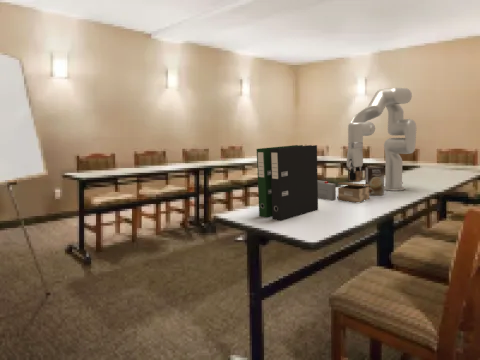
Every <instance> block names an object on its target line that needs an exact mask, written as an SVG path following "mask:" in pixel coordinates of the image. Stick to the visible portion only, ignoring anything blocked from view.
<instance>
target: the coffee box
mask: <svg viewBox="0 0 480 360" xmlns="http://www.w3.org/2000/svg"><path fill="white" fill-rule="evenodd" d="M364 179H365V180H364V181H365V182H364V184H370V186H369V197H370V196H375V197H376V196H384V195H385V190H384V186H385V167H383V166H366V167H365V178H364Z"/></svg>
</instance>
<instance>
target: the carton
mask: <svg viewBox="0 0 480 360" xmlns="http://www.w3.org/2000/svg"><path fill="white" fill-rule="evenodd" d="M337 192H338V193H337V195H338V196H337V200H338V201H340V202H347V201H349V202H348V203H356V202H360V203H362V202H361V201H363V202H365V201H367V200H370V196H369V186H356V185H343V186H340V187H338V188H337ZM364 200H365V201H364Z"/></svg>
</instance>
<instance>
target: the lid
mask: <svg viewBox="0 0 480 360" xmlns="http://www.w3.org/2000/svg"><path fill="white" fill-rule="evenodd" d="M337 184H338V185H343V186H346V185H356V186H370V184H365V183H357V182H356V183H355V182H338V183H337Z"/></svg>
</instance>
